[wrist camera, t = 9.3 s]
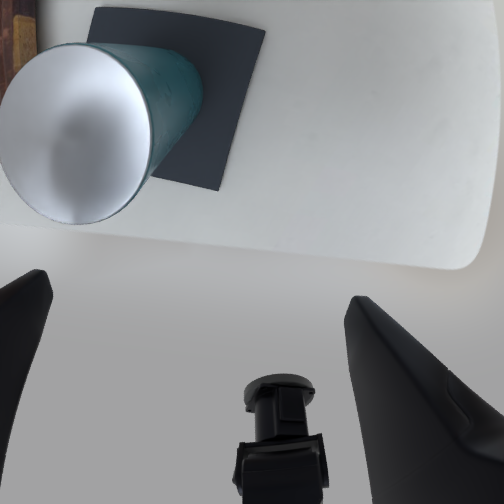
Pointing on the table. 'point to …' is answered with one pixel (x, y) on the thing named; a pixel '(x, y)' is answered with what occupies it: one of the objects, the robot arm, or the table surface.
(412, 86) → the table surface
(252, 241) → the table surface
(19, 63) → the book
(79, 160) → the can
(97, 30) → the mat
